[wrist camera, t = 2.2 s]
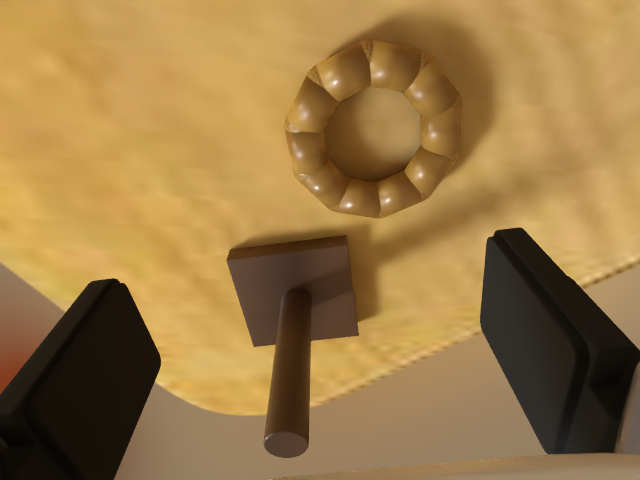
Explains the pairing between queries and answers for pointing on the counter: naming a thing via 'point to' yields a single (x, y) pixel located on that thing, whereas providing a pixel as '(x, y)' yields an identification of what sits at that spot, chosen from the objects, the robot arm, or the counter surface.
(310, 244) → the peg
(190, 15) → the counter surface
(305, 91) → the ring
